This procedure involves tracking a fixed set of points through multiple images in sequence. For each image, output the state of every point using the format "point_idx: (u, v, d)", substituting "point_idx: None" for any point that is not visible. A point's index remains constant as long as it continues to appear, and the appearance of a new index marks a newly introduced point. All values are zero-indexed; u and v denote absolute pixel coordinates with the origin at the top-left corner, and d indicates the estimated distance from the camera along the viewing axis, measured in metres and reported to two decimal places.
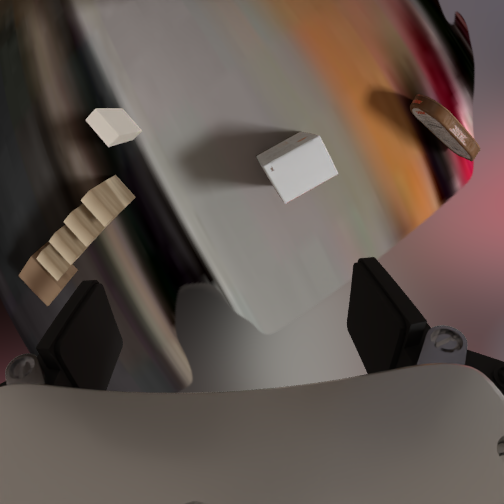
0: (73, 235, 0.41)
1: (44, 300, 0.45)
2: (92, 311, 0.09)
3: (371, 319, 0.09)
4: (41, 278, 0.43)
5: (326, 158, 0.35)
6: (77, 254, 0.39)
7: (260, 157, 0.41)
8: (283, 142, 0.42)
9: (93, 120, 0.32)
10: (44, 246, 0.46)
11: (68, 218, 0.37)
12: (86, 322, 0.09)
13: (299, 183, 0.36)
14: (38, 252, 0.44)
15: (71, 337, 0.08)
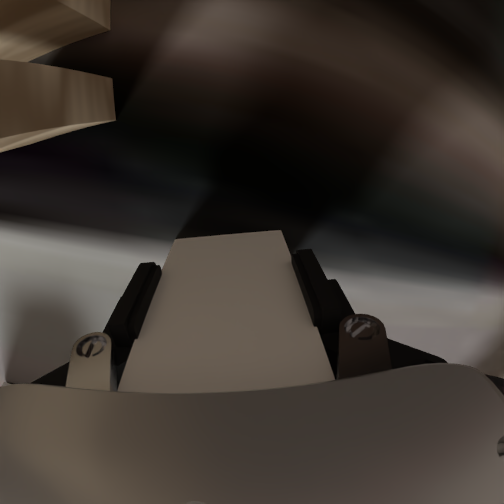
0: None
1: None
2: (154, 291, 0.10)
3: None
4: None
5: None
6: None
7: None
8: None
9: None
10: None
11: None
12: None
13: None
14: None
15: (141, 314, 0.09)
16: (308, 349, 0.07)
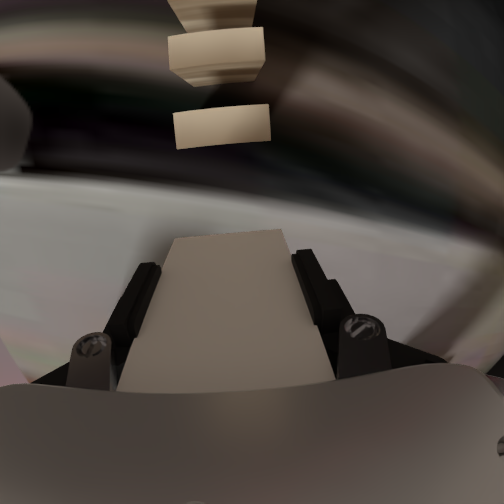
0: (220, 8, 0.14)
1: None
2: (154, 291, 0.10)
3: None
4: None
5: None
6: (173, 0, 0.12)
7: None
8: None
9: None
10: None
11: (258, 44, 0.13)
12: None
13: None
14: None
15: (141, 314, 0.09)
16: (308, 348, 0.07)
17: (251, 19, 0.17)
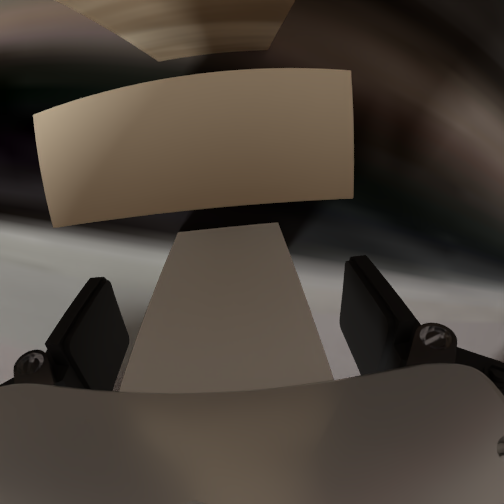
0: None
1: None
2: (100, 308, 0.09)
3: (362, 316, 0.09)
4: None
5: None
6: None
7: None
8: None
9: None
10: None
11: None
12: (94, 318, 0.09)
13: None
14: None
15: (80, 333, 0.08)
16: (300, 326, 0.08)
17: None
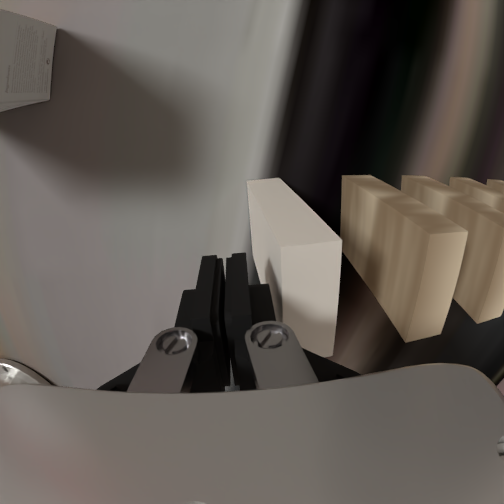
0: None
1: None
2: (222, 284, 0.10)
3: None
4: None
5: None
6: None
7: (13, 103, 0.12)
8: None
9: (315, 341, 0.11)
10: None
11: (490, 315, 0.12)
12: (222, 294, 0.10)
13: None
14: None
15: (219, 307, 0.09)
16: None
17: None
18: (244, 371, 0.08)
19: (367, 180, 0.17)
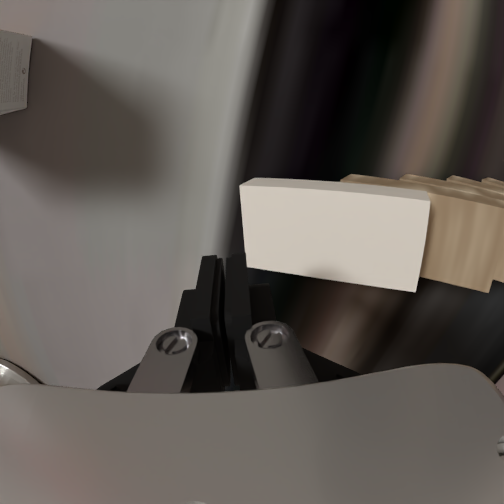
0: None
1: None
2: (222, 284, 0.10)
3: None
4: None
5: None
6: None
7: None
8: None
9: None
10: None
11: None
12: (222, 294, 0.10)
13: None
14: None
15: (219, 307, 0.09)
16: None
17: None
18: (244, 371, 0.08)
19: (371, 179, 0.17)
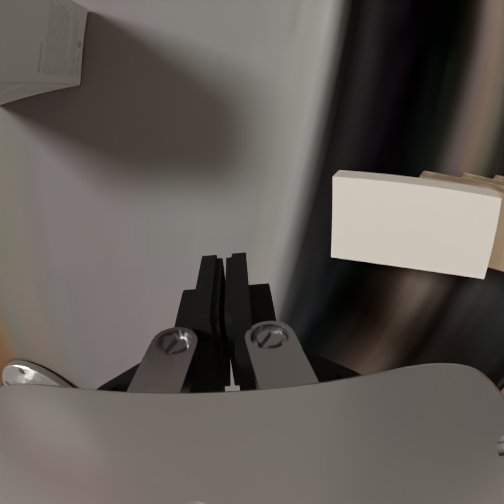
0: None
1: None
2: (222, 284, 0.10)
3: None
4: None
5: None
6: None
7: (44, 85, 0.11)
8: (14, 97, 0.13)
9: None
10: None
11: None
12: (222, 294, 0.10)
13: None
14: None
15: (219, 307, 0.09)
16: None
17: None
18: (244, 371, 0.08)
19: (444, 176, 0.17)
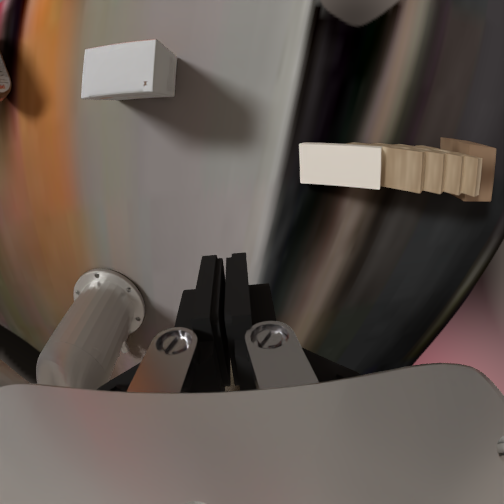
0: None
1: (493, 156, 0.32)
2: (222, 284, 0.10)
3: None
4: None
5: (86, 70, 0.23)
6: (458, 158, 0.30)
7: None
8: (136, 98, 0.32)
9: (380, 179, 0.34)
10: None
11: (442, 190, 0.32)
12: (222, 294, 0.10)
13: (127, 55, 0.23)
14: None
15: (219, 307, 0.09)
16: None
17: None
18: (244, 371, 0.08)
19: (361, 143, 0.36)
